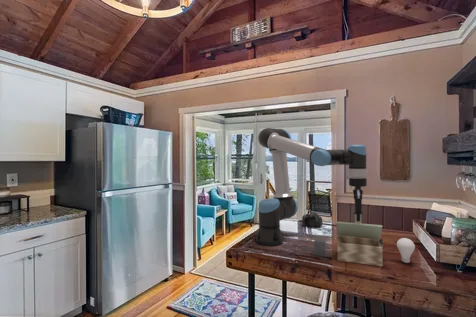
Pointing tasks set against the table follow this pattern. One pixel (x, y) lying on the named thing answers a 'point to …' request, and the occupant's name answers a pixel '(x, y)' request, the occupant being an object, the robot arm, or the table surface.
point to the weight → (320, 247)
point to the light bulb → (405, 249)
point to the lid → (359, 230)
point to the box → (360, 250)
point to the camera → (312, 220)
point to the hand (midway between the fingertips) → (358, 227)
